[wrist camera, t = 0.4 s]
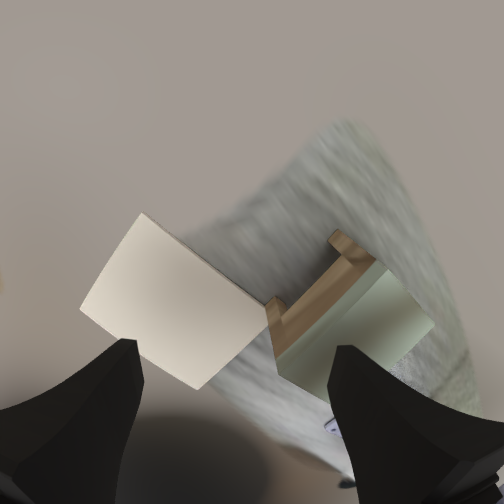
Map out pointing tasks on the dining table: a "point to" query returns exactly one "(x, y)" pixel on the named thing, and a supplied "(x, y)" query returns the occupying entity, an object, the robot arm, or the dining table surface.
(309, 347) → the board with wooden rails
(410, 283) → the dining table surface
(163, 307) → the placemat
